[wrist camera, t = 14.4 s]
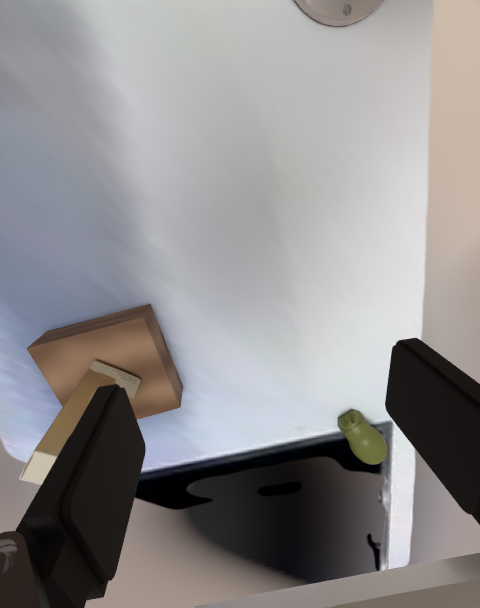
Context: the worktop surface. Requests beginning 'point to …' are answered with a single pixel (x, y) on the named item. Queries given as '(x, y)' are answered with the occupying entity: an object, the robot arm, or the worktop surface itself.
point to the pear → (363, 438)
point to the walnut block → (112, 357)
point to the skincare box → (74, 417)
